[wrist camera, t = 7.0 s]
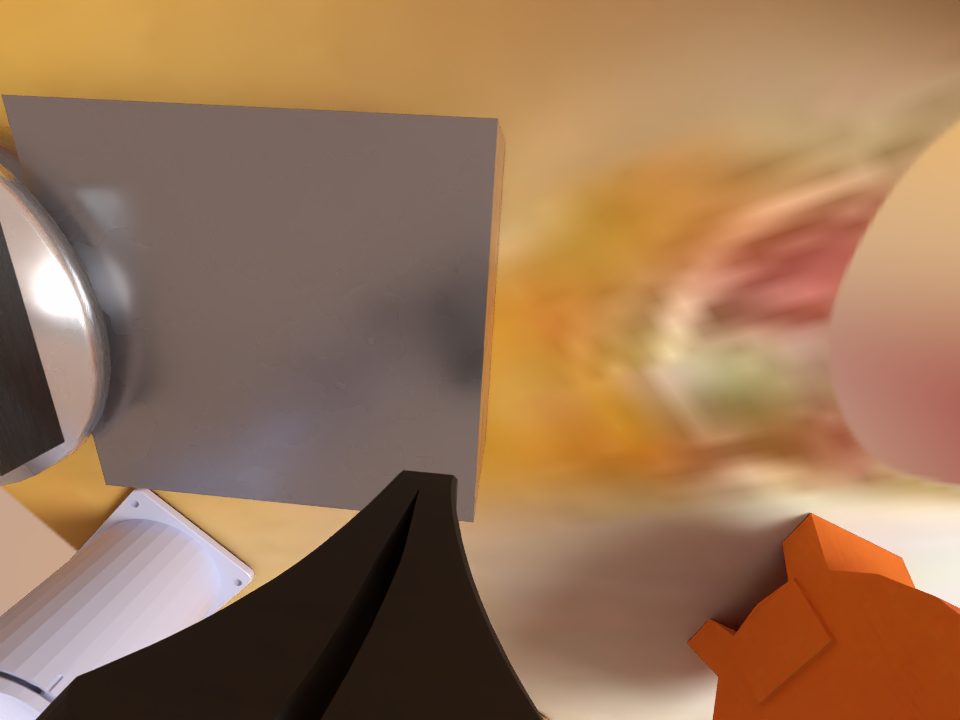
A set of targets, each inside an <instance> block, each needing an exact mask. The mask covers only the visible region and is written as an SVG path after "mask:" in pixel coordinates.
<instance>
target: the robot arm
mask: <svg viewBox="0 0 960 720" xmlns="http://www.w3.org/2000/svg"><path fill="white" fill-rule="evenodd" d="M457 487H458V479H457V478H456V477H455V476H454V475H449V474H439V473H428V472H418V471H408V470H403V471H402V472H400V473H399V474H398V475H397V476H396V477H395V478H394V479H393V480H392V481H391V482H390V483H389V484H388V485H387V486H386V487H385V488H384V489H383V490H382V491H381V492H380V493H379V494H378V495H377V496H376V497H375V498H374V499H373V500H372V501H371V502H370V503H369V504H368V505H367V506H366V507H365V508H363V509H362V510H361V511H360V512H359V513H358V514H357V515H356V516H355V517H354V518H353V519H351V520H350V521H349V522H348V523H347V524H346V525H345V526H343V527H342V528H341V529H340V530H339V531H337V532H336V533H335V534H334V535H333V536H331V537H330V538H329V539H328V540H327V541H325V542H324V543H323V544H322V545H320V546H319V547H318V548H317V549H315V550H314V551H313V552H311V553H310V554H309V555H307V556H306V557H305V558H303V559H302V560H301V561H299V562H298V563H296V564H295V565H294V566H292V567H291V568H289V569H288V570H286V571H285V572H283V573H282V574H280V575H279V576H277V577H276V578H274V579H273V580H271V581H269V582H268V583H266V584H264V585H263V586H261V587H259V588H258V589H256V590H254V591H253V592H251V593H249V594H248V595H246V596H244V597H243V598H241V599H239V600H238V601H236V602H234V603H233V604H231V605H229V606H227V607H226V608H224V609H222V610H220V611H218V612H216V611H217V610H218V609H220V608H221V607H222V606H223V605H224V604H225V603H227V602H228V601H229V600H230V599H231V598H232V597H234V596H235V595H236V594H237V593H238V592H239V591H241V590H242V589H243V588H244V587H245V586H247V585H248V584H249V583H250V582H251V580H252V579H253V577H254V572H253V570H252V569H251V568H249V567H248V566H247V565H246V564H244V563H243V562H242V561H240V560H239V559H238V558H237V557H235V556H234V555H233V554H231V553H230V552H229V551H228V550H226V549H225V548H224V547H222V546H221V545H220V544H219V543H217V542H216V541H215V540H213V539H212V538H211V537H210V536H208V535H207V534H206V533H204V532H203V531H202V530H201V529H199V528H198V527H197V526H195V525H194V524H193V523H192V522H190V521H189V520H188V519H186V518H185V517H184V516H183V515H181V514H180V513H179V512H177V511H176V510H175V509H174V508H172V507H171V506H170V505H168V504H167V503H166V502H165V501H163V500H162V499H161V498H159V497H158V496H157V495H156V494H154V493H153V492H152V491H150V490H149V489H143V488H136V489H135V490H133V491H132V492H131V493H130V494H129V495H128V496H127V498H126V499H125V500H124V501H123V502H122V503H121V504H120V505H119V506H118V507H117V509H116V510H115V511H114V512H113V513H112V514H111V515H110V516H109V517H108V518H107V520H106V521H105V522H104V523H103V524H102V525H101V526H100V527H99V528H98V530H97V531H96V532H95V533H94V534H93V535H92V536H91V537H90V538H89V539H88V541H87V542H86V543H85V544H84V545H83V546H82V547H81V548H80V549H79V550H78V552H77V553H76V554H75V555H74V556H73V557H72V558H71V559H70V561H68V562H67V563H66V564H65V565H63V566H62V567H61V568H60V569H59V570H57V571H56V572H55V573H54V574H52V575H51V576H50V577H49V578H47V579H46V580H45V581H44V582H43V583H41V584H40V585H39V586H38V587H36V588H35V589H34V590H33V591H31V592H30V593H29V594H28V595H26V596H25V597H24V598H23V599H22V600H20V601H19V602H18V603H17V604H16V605H14V606H13V607H12V608H11V609H9V610H8V611H7V612H6V613H4V614H3V615H2V616H1V617H0V720H544V719H543V718H542V716H541V715H540V713H539V712H538V710H537V708H536V707H535V705H534V703H533V702H532V700H531V699H530V697H529V695H528V694H527V692H526V690H525V689H524V687H523V685H522V683H521V681H520V680H519V678H518V676H517V674H516V673H515V671H514V669H513V667H512V665H511V664H510V662H509V660H508V658H507V656H506V654H505V652H504V650H503V648H502V645H501V643H500V641H499V639H498V637H497V635H496V633H495V631H494V629H493V627H492V625H491V623H490V621H489V618H488V616H487V614H486V611H485V609H484V606H483V604H482V602H481V599H480V596H479V594H478V591H477V588H476V586H475V583H474V580H473V577H472V574H471V571H470V568H469V564H468V561H467V557H466V554H465V550H464V546H463V542H462V538H461V533H460V528H459V523H458V517H457ZM215 612H216V613H215Z"/></svg>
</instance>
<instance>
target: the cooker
mask: <svg viewBox="0 0 960 720" xmlns="http://www.w3.org/2000/svg"><path fill="white" fill-rule="evenodd" d="M2 98H3V102H4V106H5V109H6V113H7V117H8V120H9V124H10V128H8V127H0V164H1V165H3V166H4V167H5V168H6V169H7V170H9V171H10V172H11V173H12V174H13V175H14V176H15V177H16V178H17V179H18V180H19V181H20V182H21V183H22V184H23V185H24V186H25V187H26V188H27V189H28V190H29V191H30V192H31V193H32V194H33V195H34V196H35V197H36V199H37V200H38V201H39V202H40V203H41V205H42V206H43V207H44V208H45V210H46V211H47V212H48V213H49V214H50V216H51V217H52V218H53V219H54V220H55V222H56V223H57V225H58V226H59V228H60V229H61V231H62V232H63V233H64V235H65V236H66V238H67V239H68V241H69V242H70V244H71V245H72V247H73V248H74V250H75V252H76V254H77V256H78V258H79V259H80V261H81V263H82V265H83V267H84V269H85V270H86V272H87V274H88V276H89V279H90V281H91V284H92V286H93V288H94V291H95V293H96V295H97V298H98V300H99V304H100V307H101V310H102V314H103V317H104V320H105V324H106V329H107V335H108V340H109V346H110V362H111V375H110V384H109V393H108V396H107V400H106V404H105V407H104V411H103V413H102V415H101V417H100V419H99V421H98V423H97V425H96V427H95V429H94V430H93V432H92V434H93V438H94V441H95V445H96V449H97V453H98V456H99V460H100V464H101V468H102V471H103V475H104V479H105V482H106V485H114V486H123V487H133V488H143V489H153V490H163V491H172V492H182V493H192V494H202V495H212V496H221V497H231V498H241V499H251V500H261V501H270V502H280V503H290V504H300V505H310V506H319V507H329V508H339V509H349V510H358V511H361V510H362V509H363V508H365V507H366V506H367V505H368V504H369V503H370V502H371V501H372V500H373V499H374V498H375V497H376V496H377V495H378V494H379V493H380V492H381V491H382V490H383V489H384V488H385V487H386V486H387V485H388V484H389V483H390V482H391V481H392V480H393V479H394V478H395V477H396V476H397V475H398V474H399V473H400V472H402V471H403V470H408V471H418V472H428V473H439V474H449V475H454V476H455V477H456V478H457V479H458V487H457V517H458V521H466V522H473V521H474V515H475V508H476V501H477V494H478V487H479V480H480V473H481V467H482V460H483V453H484V446H485V439H486V424H487V409H488V394H489V379H490V364H491V349H492V334H493V319H494V304H495V290H496V275H497V260H498V245H499V230H500V215H501V200H502V185H503V170H504V155H505V140H504V137H503V134H502V131H501V127H500V124H499V121H498V119H493V118H472V117H451V116H431V115H410V114H389V113H369V112H348V111H327V110H306V109H286V108H265V107H244V106H224V105H203V104H182V103H161V102H141V101H120V100H99V99H79V98H58V97H37V96H16V95H2Z"/></svg>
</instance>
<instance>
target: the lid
mask: <svg viewBox="0 0 960 720" xmlns="http://www.w3.org/2000/svg"><path fill="white" fill-rule="evenodd" d="M110 375H111V362H110V346H109V340H108V335H107V329H106V324H105V320H104V317H103V314H102V310H101V307H100V304H99V300H98V298H97V295H96V293H95V291H94V288H93V286H92V284H91V281H90V279H89V276H88V274H87V272H86V270H85V269H84V267H83V265H82V263H81V261H80V259H79V258H78V256H77V254H76V252H75V250H74V248H73V247H72V245H71V244H70V242H69V241H68V239H67V238H66V236H65V235H64V233H63V232H62V231H61V229H60V228H59V226H58V225H57V223H56V222H55V220H54V219H53V218H52V217H51V216H50V214H49V213H48V212H47V211H46V210H45V208H44V207H43V206H42V205H41V203H40V202H39V201H38V200H37V199H36V197H35V196H34V195H33V194H32V193H31V192H30V191H29V190H28V189H27V188H26V187H25V186H24V185H23V184H22V183H21V182H20V181H19V180H18V179H17V178H16V177H15V176H14V175H13V174H12V173H11V172H10V171H9V170H7V169H6V168H5V167H4V166H3V165H1V164H0V486H2V485H6V484H11V483H15V482H19V481H22V480H25V479H27V478H29V477H32V476H34V475H37V474H39V473H40V472H42V471H44V470H45V469H47V468H49V467H51V466H52V465H54V464H56V463H58V462H59V461H61V460H62V459H64V458H66V457H67V456H69V455H70V454H72V453H73V452H74V451H75V450H77V449H78V448H79V447H80V446H81V445H82V444H83V443H84V442H85V441H86V440H87V438H88V437H89V436H90V434H91V433H92V432H93V430H94V429H95V427H96V425H97V423H98V421H99V419H100V417H101V415H102V413H103V411H104V407H105V404H106V400H107V396H108V393H109V384H110Z"/></svg>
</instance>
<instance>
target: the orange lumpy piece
mask: <svg viewBox="0 0 960 720" xmlns="http://www.w3.org/2000/svg"><path fill="white" fill-rule="evenodd" d="M782 544H783V550H784V557H785V563H786V570H787V576H788V582H787V583H786V584H784V585H783V586H781V587H780V588H779V589H777V590H776V591H774V592H773V593H772V594H770V595H769V596H767V597H766V598H765V599H763V600H762V601H760V602H759V603H758V604H757V605H756V606H755V607H754V609H753V610H752V612H751V613H750V614H749V616H748V617H747V618H746V620H745V621H744V623H743V624H742V625H741V627H740V628H739V629H738V631H735V630H733V629H731V628H729V627H726V626H724V625H722V624H720V623H718V622H716V621H713V620H711V619H709V620H708V621H707V622H706V623H705V624H704V626H703V627H702V628H701V629H700V630H699V631H698V632H697V633H696V634H695V635H694V636H693V637H692V638H691V639H690V641H689V642H688V644H689V646H690V647H691V648H692V649H693V650H694V651H695V652H696V653H697V654H698V655H699V656H700V657H701V659H702V660H703V661H704V662H705V663H706V664H707V665H708V666H709V667H710V668H711V669H712V670H713V671H714V673H715V674H716V675H717V676H718V684H717V691H716V699H715V706H714V714H713V720H960V608H958V607H956V606H954V605H952V604H950V603H948V602H946V601H944V600H942V599H940V598H938V597H935V596H933V595H930V594H928V593H925V592H923V591H920V590H918V589H915V586H914V584H913V582H912V580H911V577H910V575H909V573H908V570H907V568H906V566H905V563H904V561H903V559H902V558H901V557H899V556H897V555H895V554H893V553H891V552H889V551H887V550H885V549H883V548H881V547H879V546H877V545H875V544H873V543H871V542H869V541H867V540H865V539H863V538H861V537H859V536H857V535H855V534H852V533H850V532H848V531H846V530H844V529H842V528H840V527H838V526H836V525H834V524H832V523H830V522H828V521H826V520H824V519H822V518H820V517H818V516H816V515H814V514H812V513H810V515H809V516H808V517H807V518H806V519H805V520H804V521H803V522H802V523H801V524H800V525H799V526H798V527H797V528H796V529H795V530H794V531H793V532H792V533H791V534H790V535H789V537H788V538H787V539H786V540H785V541H784V542H783V543H782Z"/></svg>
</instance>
